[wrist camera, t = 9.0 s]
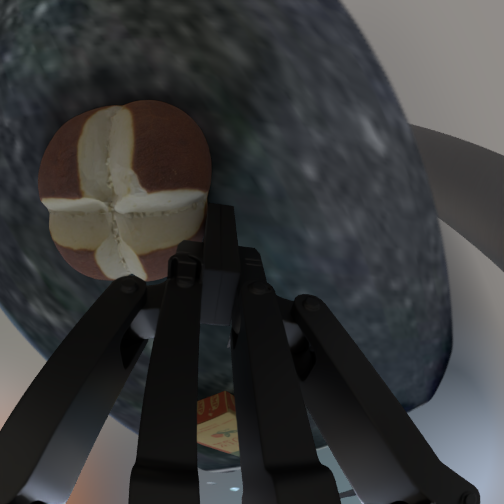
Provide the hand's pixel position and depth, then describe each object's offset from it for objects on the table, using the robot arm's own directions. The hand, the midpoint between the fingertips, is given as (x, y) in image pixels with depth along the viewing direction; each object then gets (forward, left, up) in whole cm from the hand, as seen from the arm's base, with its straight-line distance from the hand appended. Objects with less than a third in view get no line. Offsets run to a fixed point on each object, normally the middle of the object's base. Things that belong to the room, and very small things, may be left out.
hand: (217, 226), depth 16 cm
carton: (-6, +27, -3) cm, 28 cm away
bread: (+6, -1, -3) cm, 7 cm away
